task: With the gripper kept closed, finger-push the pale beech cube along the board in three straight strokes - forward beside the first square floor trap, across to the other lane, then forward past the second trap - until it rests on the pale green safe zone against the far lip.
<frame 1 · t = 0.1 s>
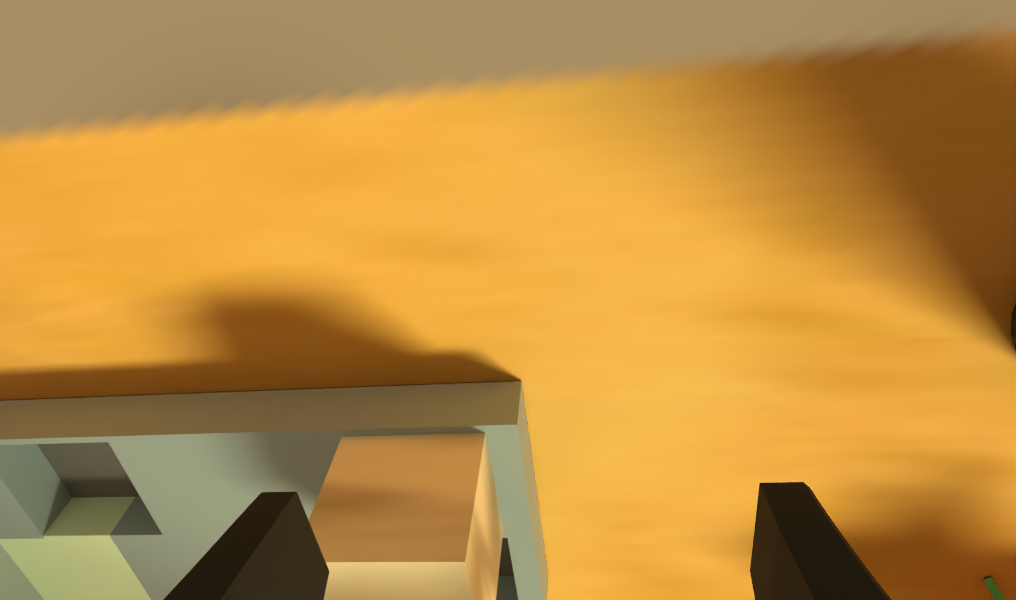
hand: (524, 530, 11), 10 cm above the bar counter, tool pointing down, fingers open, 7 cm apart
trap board: (261, 493, 26), on the bar counter
beech block: (425, 485, 22), point 2 cm above the bar counter, touching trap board
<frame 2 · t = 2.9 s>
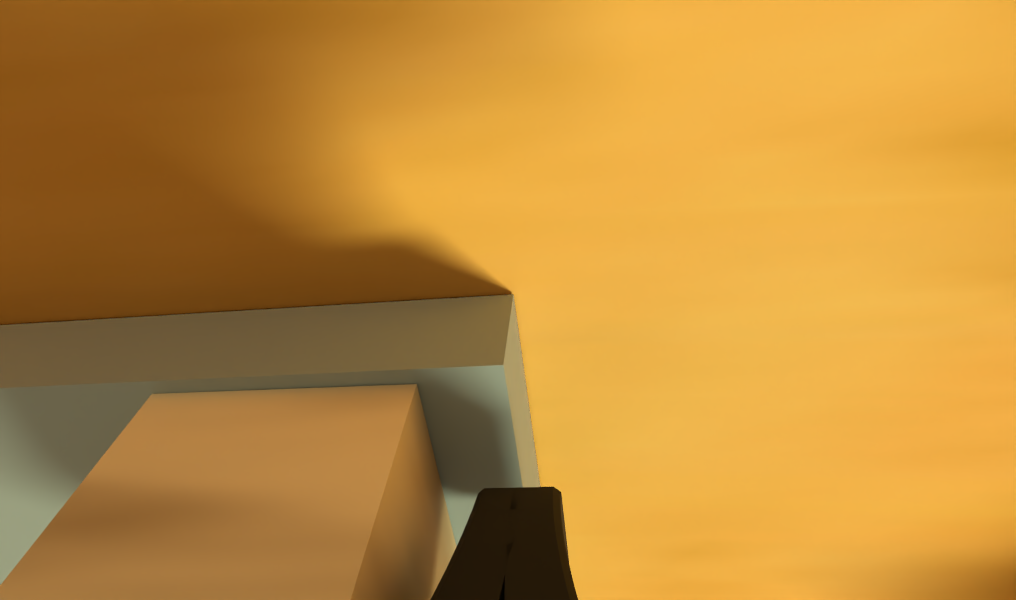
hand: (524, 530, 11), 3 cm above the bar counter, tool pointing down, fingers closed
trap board: (95, 500, 16), on the bar counter
beech block: (317, 486, 12), point 2 cm above the bar counter, touching gripper
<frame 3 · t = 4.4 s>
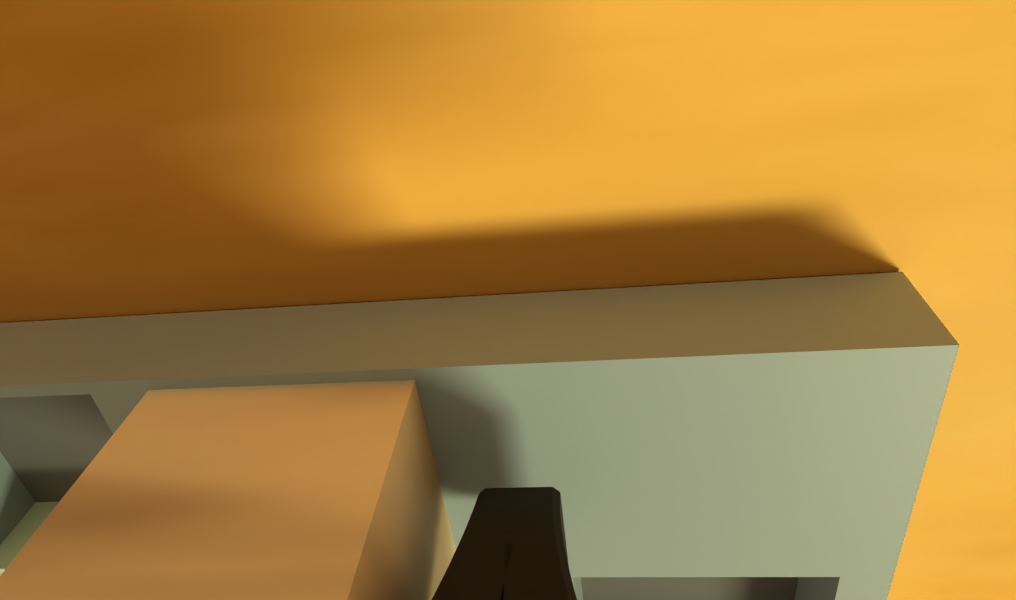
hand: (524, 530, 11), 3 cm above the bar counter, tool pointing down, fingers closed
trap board: (356, 494, 15), on the bar counter
beech block: (315, 483, 12), point 2 cm above the bar counter, touching gripper, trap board
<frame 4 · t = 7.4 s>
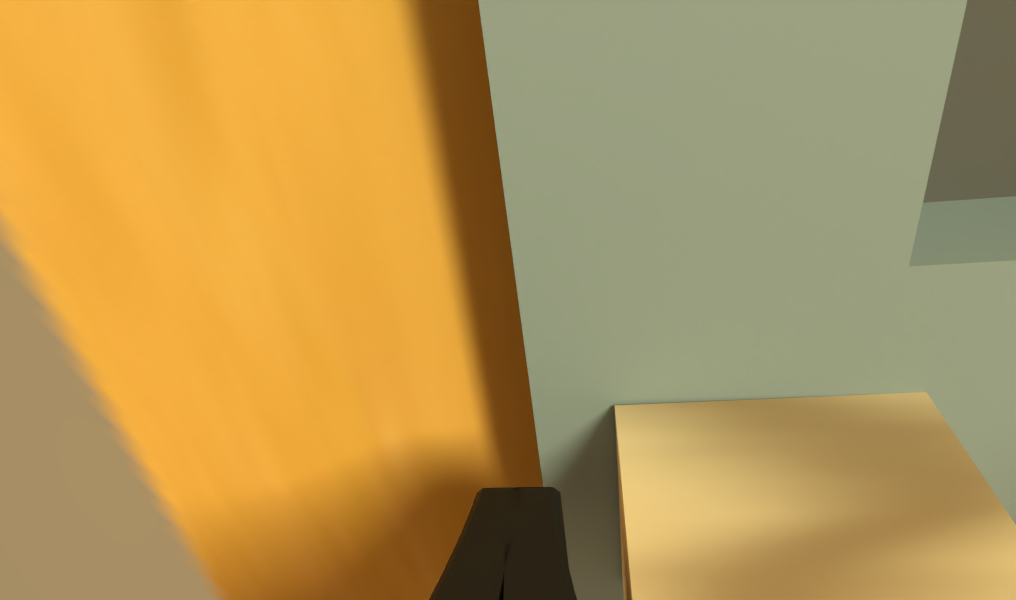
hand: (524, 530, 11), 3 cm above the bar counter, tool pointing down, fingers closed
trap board: (811, 430, 13), on the bar counter
beech block: (755, 501, 12), point 2 cm above the bar counter, touching gripper, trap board
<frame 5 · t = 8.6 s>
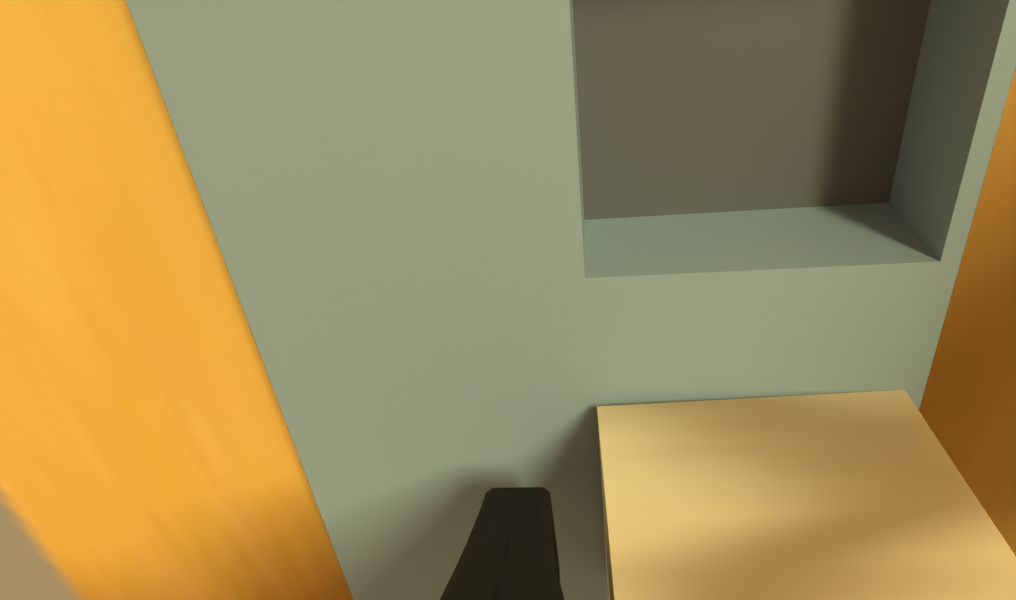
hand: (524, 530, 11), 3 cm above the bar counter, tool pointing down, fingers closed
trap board: (588, 430, 14), on the bar counter
beech block: (737, 500, 12), point 2 cm above the bar counter, touching gripper, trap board
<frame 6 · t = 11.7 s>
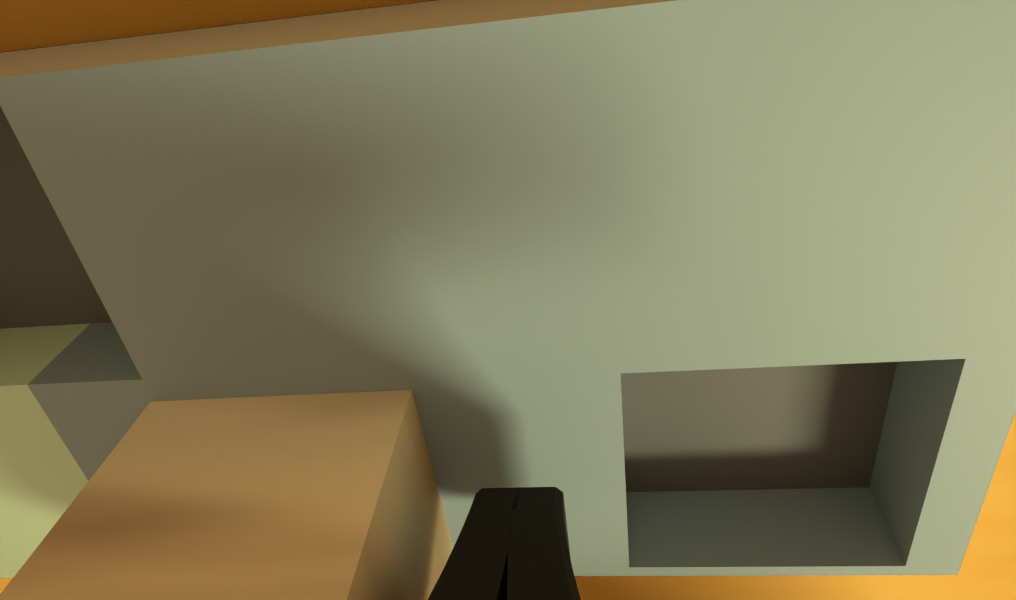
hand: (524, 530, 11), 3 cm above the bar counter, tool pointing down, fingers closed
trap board: (348, 309, 13), on the bar counter
beech block: (315, 491, 12), point 2 cm above the bar counter, touching gripper, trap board
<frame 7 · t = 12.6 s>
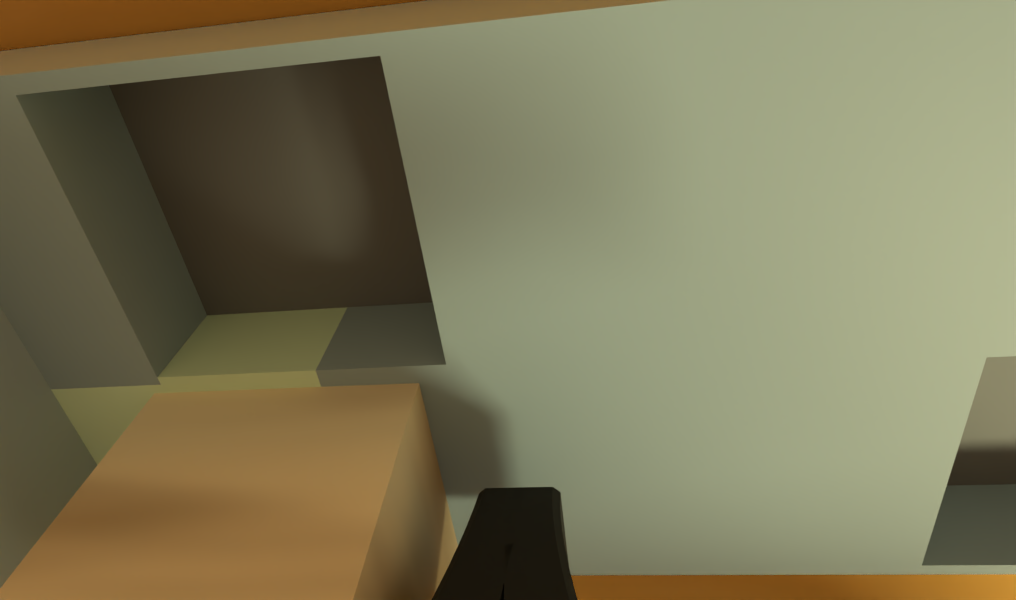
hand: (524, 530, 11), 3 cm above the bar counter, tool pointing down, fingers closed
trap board: (630, 292, 12), on the bar counter
beech block: (319, 485, 12), point 2 cm above the bar counter, touching gripper, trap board
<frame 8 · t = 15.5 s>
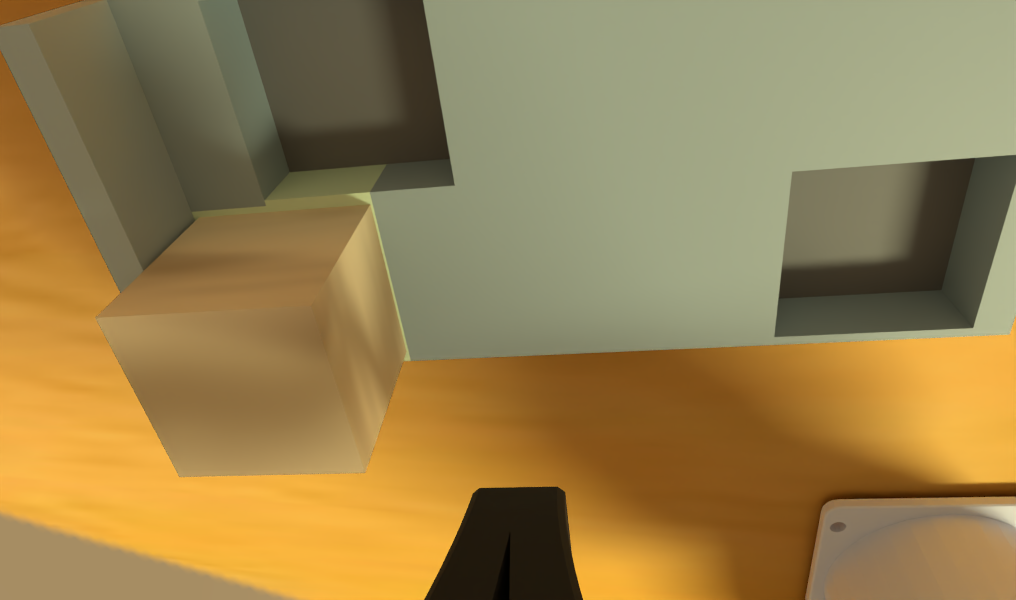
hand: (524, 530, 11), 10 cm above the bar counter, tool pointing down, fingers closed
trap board: (577, 150, 18), on the bar counter
beech block: (307, 287, 18), point 2 cm above the bar counter, touching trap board
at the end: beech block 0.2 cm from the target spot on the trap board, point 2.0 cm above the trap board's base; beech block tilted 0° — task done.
